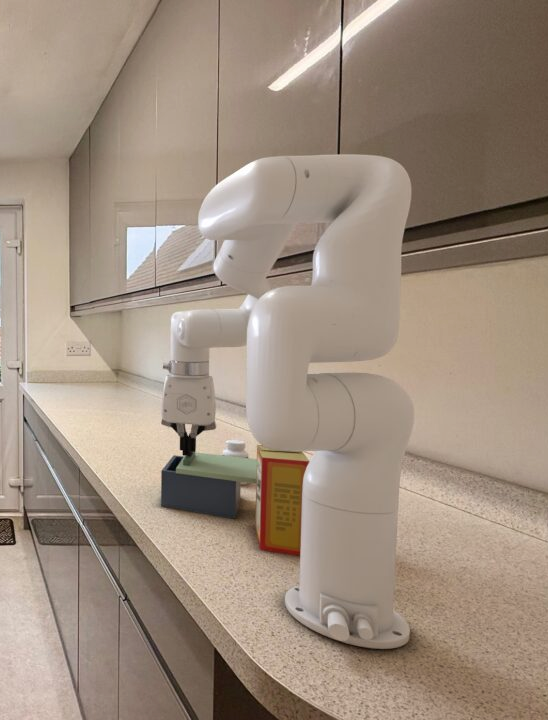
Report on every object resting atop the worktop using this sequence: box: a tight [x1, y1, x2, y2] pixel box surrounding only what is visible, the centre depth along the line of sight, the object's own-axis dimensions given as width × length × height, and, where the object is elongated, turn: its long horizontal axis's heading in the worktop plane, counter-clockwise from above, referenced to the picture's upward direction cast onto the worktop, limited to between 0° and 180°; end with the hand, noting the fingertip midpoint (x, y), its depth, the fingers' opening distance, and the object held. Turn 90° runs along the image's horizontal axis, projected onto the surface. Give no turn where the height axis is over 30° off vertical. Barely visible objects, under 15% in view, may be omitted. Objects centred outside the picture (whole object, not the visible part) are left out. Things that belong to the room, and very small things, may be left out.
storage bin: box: [160, 454, 242, 520], centre depth 105 cm, size 14×14×8 cm
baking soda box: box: [254, 444, 310, 557], centre depth 85 cm, size 10×6×16 cm
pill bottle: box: [222, 439, 249, 486], centre depth 117 cm, size 5×5×10 cm
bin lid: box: [176, 451, 257, 485], centre depth 102 cm, size 15×15×2 cm
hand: (187, 454), depth 106 cm, fingers closed
